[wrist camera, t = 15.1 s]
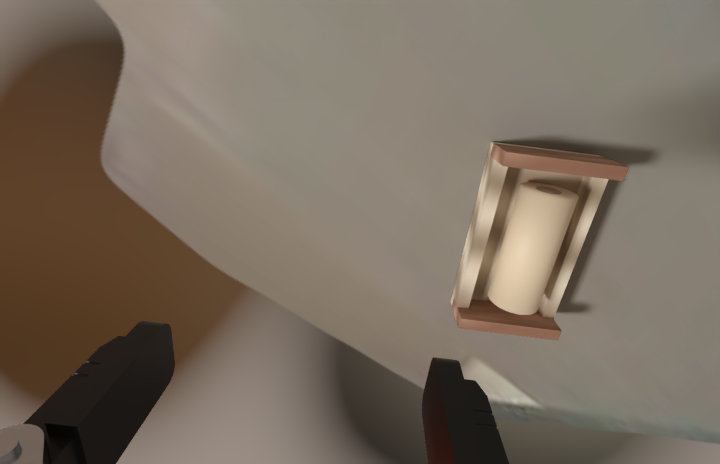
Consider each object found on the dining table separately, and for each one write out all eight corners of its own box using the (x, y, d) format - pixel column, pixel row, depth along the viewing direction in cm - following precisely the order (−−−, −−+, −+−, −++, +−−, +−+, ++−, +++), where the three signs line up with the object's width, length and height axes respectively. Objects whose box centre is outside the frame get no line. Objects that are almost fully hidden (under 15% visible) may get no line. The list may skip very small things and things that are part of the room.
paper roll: (511, 179, 36) (533, 195, 32) (561, 184, 37) (590, 201, 32) (481, 285, 41) (496, 312, 37) (525, 289, 41) (546, 317, 37)
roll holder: (491, 141, 36) (506, 152, 32) (598, 155, 36) (629, 167, 32) (450, 301, 43) (458, 328, 39) (539, 312, 43) (557, 340, 39)
